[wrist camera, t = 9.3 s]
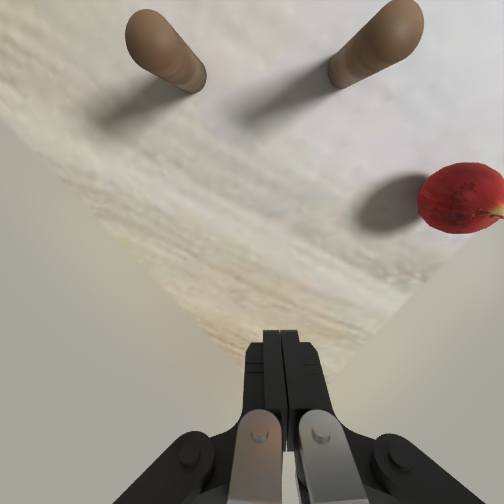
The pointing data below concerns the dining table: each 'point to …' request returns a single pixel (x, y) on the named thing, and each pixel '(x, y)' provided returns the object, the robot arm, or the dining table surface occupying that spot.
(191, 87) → the post
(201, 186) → the dining table surface
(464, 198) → the onion
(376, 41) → the post
